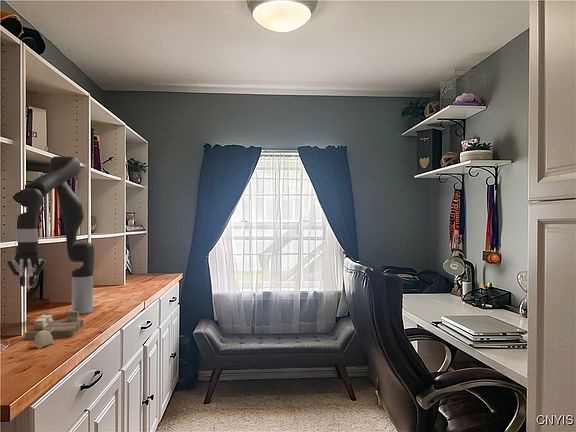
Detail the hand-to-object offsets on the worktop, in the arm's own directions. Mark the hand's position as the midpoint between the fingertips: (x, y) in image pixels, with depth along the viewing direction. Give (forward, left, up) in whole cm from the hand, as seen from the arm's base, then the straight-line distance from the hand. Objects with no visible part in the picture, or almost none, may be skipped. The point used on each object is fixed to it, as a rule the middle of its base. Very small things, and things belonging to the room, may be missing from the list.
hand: (27, 285), depth 172 cm
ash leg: (-5, +5, -16) cm, 18 cm away
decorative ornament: (+15, +11, -19) cm, 27 cm away
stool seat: (-4, +9, -19) cm, 21 cm away
